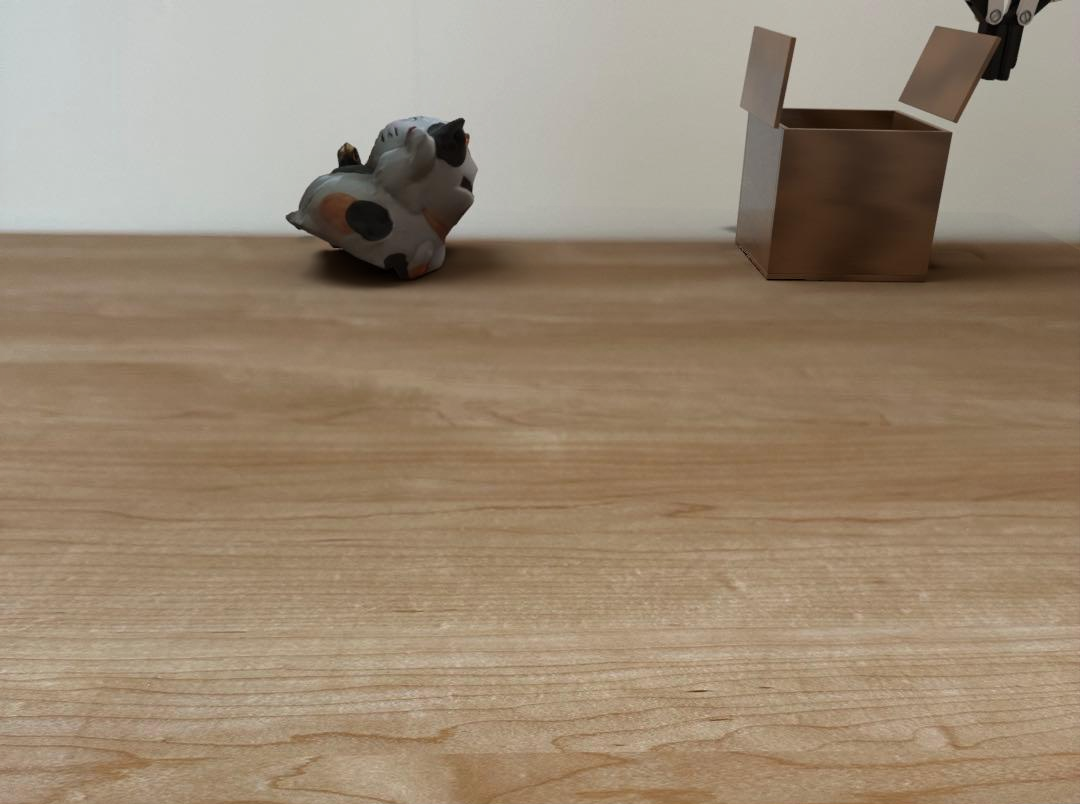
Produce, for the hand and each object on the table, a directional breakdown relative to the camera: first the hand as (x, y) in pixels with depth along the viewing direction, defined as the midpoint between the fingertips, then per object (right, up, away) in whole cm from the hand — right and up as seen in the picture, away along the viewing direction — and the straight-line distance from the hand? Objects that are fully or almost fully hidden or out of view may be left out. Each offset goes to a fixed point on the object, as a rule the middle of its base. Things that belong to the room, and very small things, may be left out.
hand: (990, 78), depth 91 cm
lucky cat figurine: (-49, -14, +2) cm, 51 cm away
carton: (-12, -13, +6) cm, 19 cm away
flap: (-4, 0, 0) cm, 4 cm away
